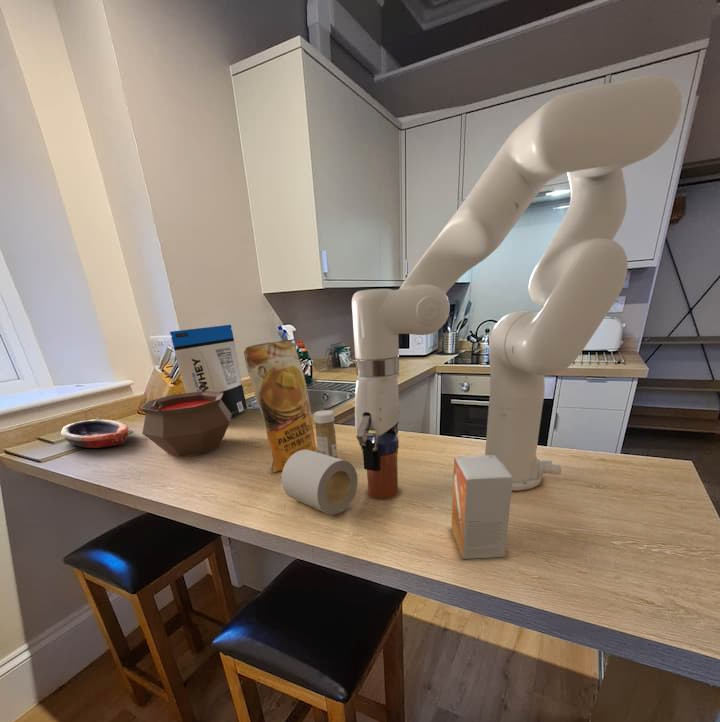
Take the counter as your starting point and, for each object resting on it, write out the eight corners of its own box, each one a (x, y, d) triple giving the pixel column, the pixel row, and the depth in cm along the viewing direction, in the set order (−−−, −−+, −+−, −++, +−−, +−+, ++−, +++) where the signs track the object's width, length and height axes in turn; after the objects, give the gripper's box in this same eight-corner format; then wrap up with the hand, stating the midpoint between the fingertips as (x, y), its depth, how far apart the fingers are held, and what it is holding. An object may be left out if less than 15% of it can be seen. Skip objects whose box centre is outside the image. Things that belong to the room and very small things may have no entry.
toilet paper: (285, 507, 75) (277, 459, 71) (323, 488, 82) (318, 443, 77) (320, 523, 69) (314, 471, 65) (359, 501, 75) (355, 453, 71)
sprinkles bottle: (342, 469, 90) (337, 412, 85) (325, 474, 88) (318, 416, 82) (332, 463, 94) (327, 408, 88) (316, 468, 92) (309, 412, 86)
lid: (373, 440, 78) (372, 431, 77) (403, 444, 75) (403, 434, 75) (358, 452, 73) (357, 442, 72) (390, 456, 70) (389, 445, 69)
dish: (105, 427, 138) (100, 413, 136) (145, 441, 120) (140, 425, 118) (54, 440, 127) (48, 426, 125) (90, 458, 109) (83, 441, 107)
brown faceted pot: (213, 463, 99) (198, 399, 92) (129, 463, 103) (108, 402, 96) (252, 433, 120) (242, 379, 113) (181, 434, 124) (167, 382, 117)
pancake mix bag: (255, 472, 92) (231, 347, 80) (306, 446, 106) (292, 337, 94) (277, 477, 88) (255, 347, 77) (326, 449, 103) (314, 336, 91)
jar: (400, 486, 80) (399, 436, 76) (395, 500, 75) (393, 447, 70) (372, 484, 82) (369, 435, 77) (364, 498, 76) (361, 446, 72)
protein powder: (255, 409, 147) (240, 324, 135) (203, 428, 129) (179, 331, 116) (238, 407, 152) (221, 325, 139) (184, 425, 134) (160, 332, 121)
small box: (450, 530, 64) (453, 456, 59) (489, 528, 64) (495, 454, 58) (461, 560, 57) (466, 479, 51) (505, 558, 57) (514, 476, 51)
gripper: (379, 359, 77) (382, 444, 84) (333, 376, 63) (342, 476, 70) (415, 360, 73) (415, 448, 81) (375, 378, 60) (380, 482, 67)
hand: (381, 461), depth 75 cm, fingers open, 7 cm apart
